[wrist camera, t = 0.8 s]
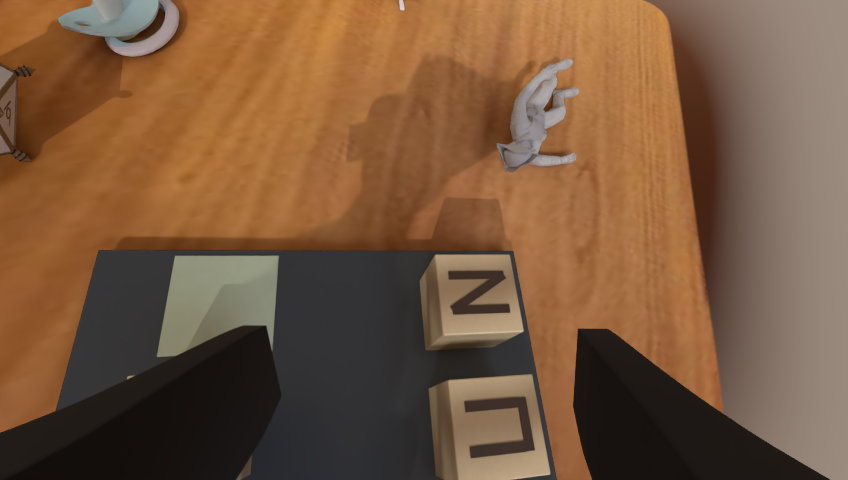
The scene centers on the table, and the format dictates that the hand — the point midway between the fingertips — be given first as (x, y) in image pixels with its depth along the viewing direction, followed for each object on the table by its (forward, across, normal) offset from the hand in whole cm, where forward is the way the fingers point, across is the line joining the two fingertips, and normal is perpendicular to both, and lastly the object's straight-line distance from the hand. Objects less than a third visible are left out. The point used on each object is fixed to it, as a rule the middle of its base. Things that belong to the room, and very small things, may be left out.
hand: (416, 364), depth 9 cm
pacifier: (+22, +23, -12) cm, 34 cm away
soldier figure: (+27, -6, -3) cm, 28 cm away
